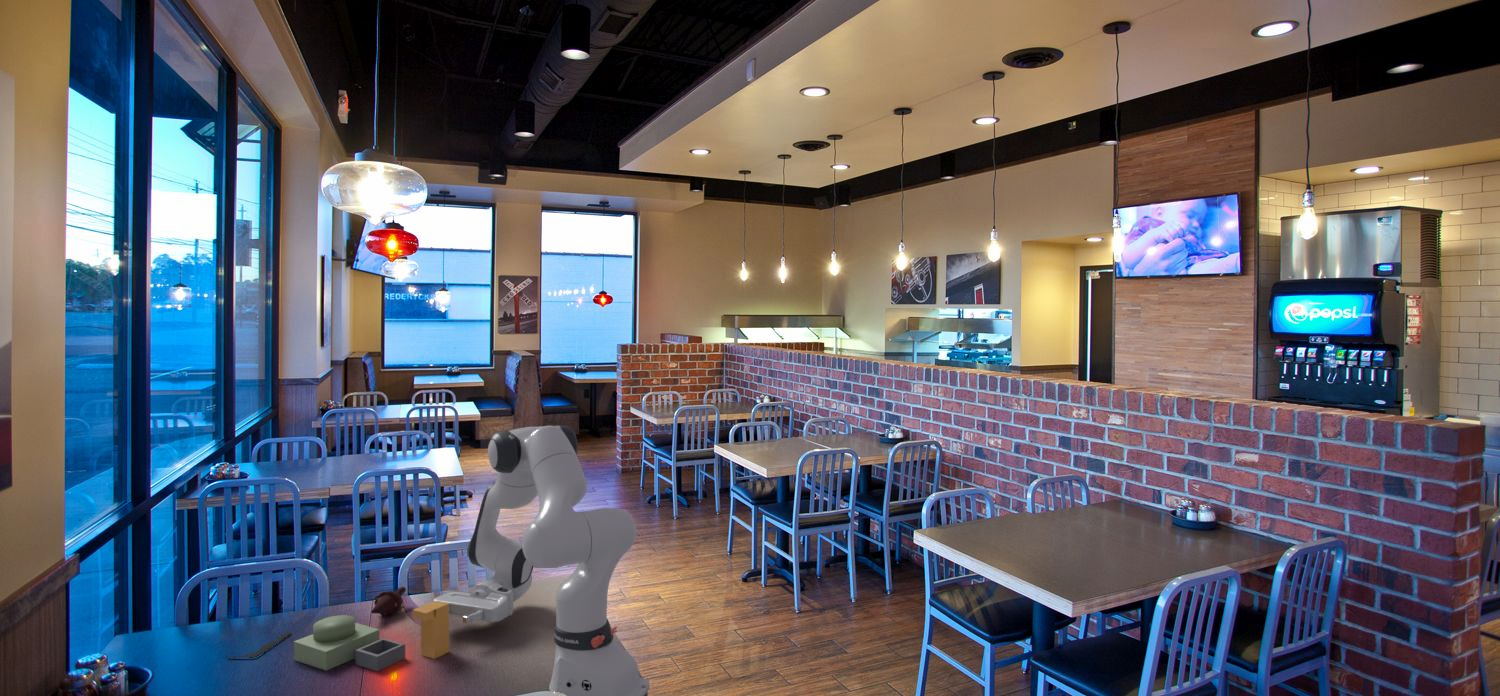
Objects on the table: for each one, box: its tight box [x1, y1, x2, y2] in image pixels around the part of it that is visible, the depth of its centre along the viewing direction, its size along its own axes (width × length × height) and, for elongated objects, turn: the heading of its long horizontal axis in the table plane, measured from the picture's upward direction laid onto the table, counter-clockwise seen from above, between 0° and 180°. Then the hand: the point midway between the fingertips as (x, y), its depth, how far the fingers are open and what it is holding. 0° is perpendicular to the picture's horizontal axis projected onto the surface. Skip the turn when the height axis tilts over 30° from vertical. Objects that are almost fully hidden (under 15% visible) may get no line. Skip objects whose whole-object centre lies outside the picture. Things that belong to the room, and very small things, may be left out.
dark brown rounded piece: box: [370, 586, 407, 618], centre depth 209 cm, size 7×7×15 cm
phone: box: [227, 631, 292, 658], centre depth 190 cm, size 7×1×15 cm
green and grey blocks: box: [293, 614, 406, 672], centre depth 183 cm, size 23×14×8 cm, turn 63°
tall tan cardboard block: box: [412, 600, 450, 660], centre depth 185 cm, size 4×7×12 cm
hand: (449, 618), depth 191 cm, fingers open, 8 cm apart
